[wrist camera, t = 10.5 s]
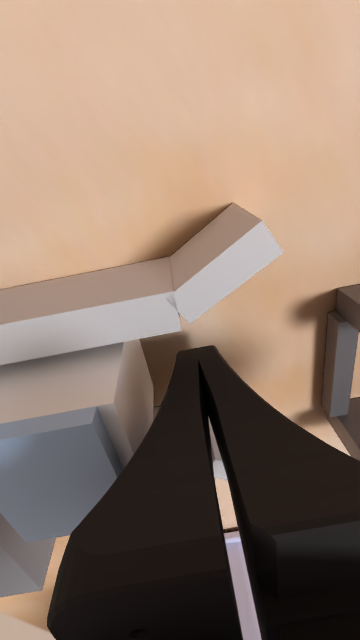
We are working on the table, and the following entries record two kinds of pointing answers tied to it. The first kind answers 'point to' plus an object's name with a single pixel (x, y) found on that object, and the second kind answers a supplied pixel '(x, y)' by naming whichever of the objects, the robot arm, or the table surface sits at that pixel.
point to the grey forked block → (122, 328)
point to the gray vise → (343, 369)
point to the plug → (69, 433)
